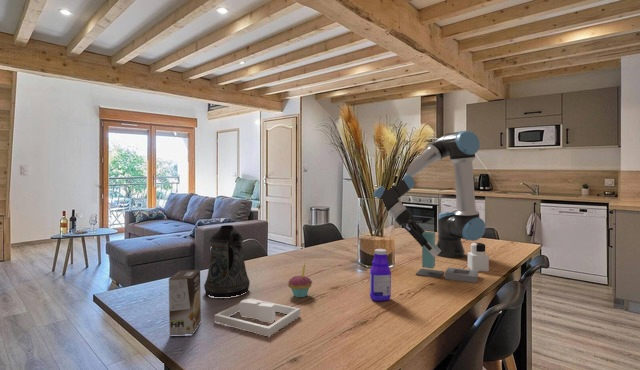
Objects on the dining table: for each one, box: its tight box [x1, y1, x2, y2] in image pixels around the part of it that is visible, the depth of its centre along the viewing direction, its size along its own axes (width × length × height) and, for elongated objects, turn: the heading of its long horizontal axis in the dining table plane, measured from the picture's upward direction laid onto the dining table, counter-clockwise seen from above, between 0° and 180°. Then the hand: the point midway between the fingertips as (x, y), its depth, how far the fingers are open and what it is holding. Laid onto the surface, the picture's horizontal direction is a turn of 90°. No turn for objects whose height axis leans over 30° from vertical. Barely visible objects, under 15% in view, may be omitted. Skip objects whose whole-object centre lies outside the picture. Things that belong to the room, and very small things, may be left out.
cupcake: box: [287, 263, 313, 298], centre depth 128 cm, size 9×8×12 cm
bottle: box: [369, 248, 392, 302], centre depth 124 cm, size 7×6×17 cm
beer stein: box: [203, 224, 251, 297], centre depth 132 cm, size 16×19×25 cm
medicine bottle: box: [467, 242, 490, 272], centre depth 161 cm, size 7×7×12 cm
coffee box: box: [168, 269, 202, 336], centre depth 101 cm, size 9×6×16 cm
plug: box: [421, 231, 436, 270], centre depth 155 cm, size 4×4×15 cm
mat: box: [415, 268, 445, 279], centre depth 155 cm, size 10×10×1 cm
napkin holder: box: [239, 299, 277, 322], centre depth 107 cm, size 15×11×6 cm
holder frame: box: [213, 297, 301, 336], centre depth 107 cm, size 16×20×2 cm
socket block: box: [444, 266, 479, 284], centre depth 149 cm, size 10×12×2 cm
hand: (437, 254), depth 153 cm, fingers closed on plug, 5 cm apart
